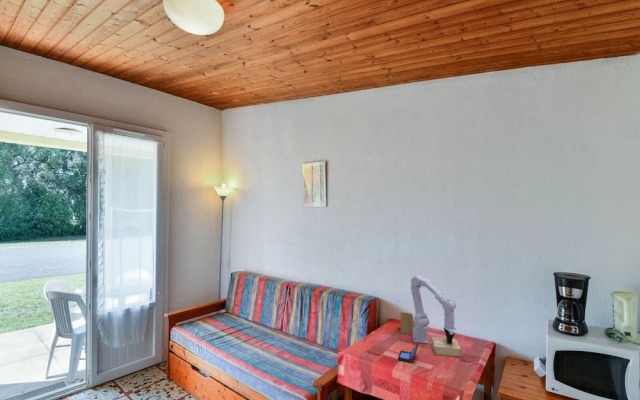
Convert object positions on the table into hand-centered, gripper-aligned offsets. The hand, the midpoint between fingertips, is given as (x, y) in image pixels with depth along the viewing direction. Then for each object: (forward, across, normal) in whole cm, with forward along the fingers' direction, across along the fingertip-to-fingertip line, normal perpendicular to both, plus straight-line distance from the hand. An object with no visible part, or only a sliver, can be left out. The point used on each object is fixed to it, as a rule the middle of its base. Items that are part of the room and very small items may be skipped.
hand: (449, 341), depth 202 cm
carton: (+6, 0, +2) cm, 6 cm away
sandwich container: (+6, +31, +23) cm, 39 cm away
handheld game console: (+6, -15, +26) cm, 31 cm away
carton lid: (+2, 0, +2) cm, 2 cm away
